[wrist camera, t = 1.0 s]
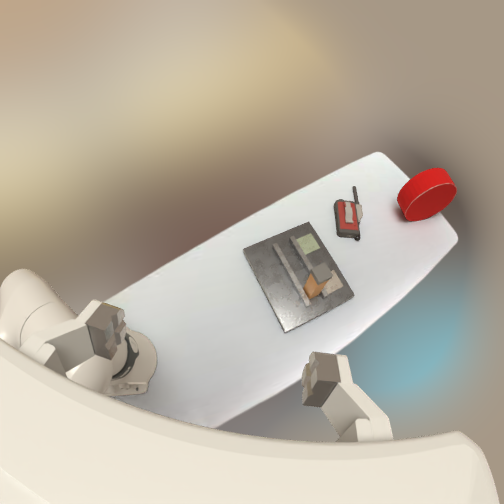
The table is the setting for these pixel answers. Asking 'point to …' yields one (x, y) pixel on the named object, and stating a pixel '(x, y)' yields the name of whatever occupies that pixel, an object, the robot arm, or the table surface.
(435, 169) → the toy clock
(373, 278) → the table surface
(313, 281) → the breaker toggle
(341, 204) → the walkie-talkie
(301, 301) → the grey metal board
